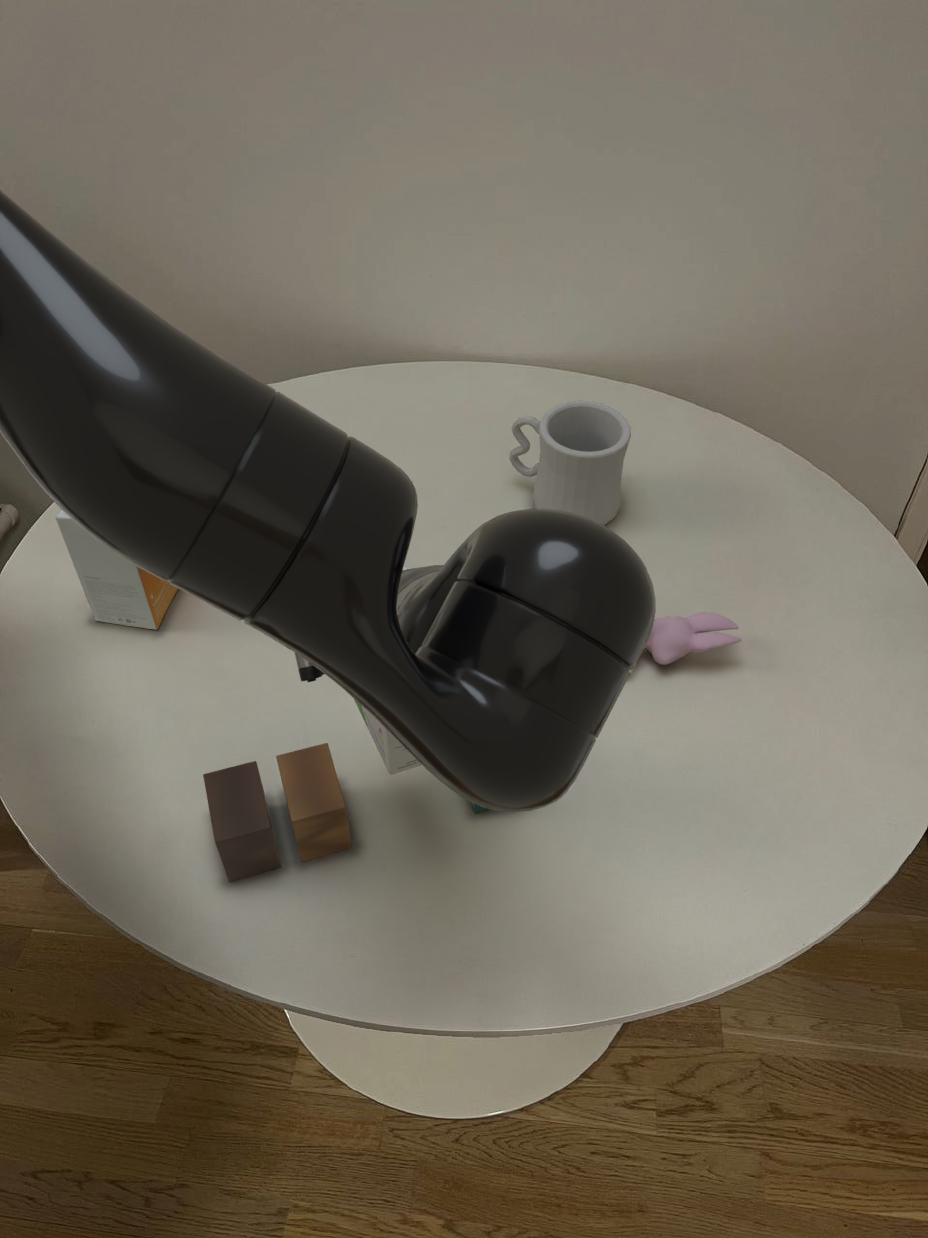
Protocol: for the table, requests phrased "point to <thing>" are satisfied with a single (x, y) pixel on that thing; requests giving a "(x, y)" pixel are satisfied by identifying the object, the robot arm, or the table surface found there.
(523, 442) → the mug
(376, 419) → the table surface
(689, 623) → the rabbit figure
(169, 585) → the small box
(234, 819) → the walnut block
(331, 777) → the oak block
